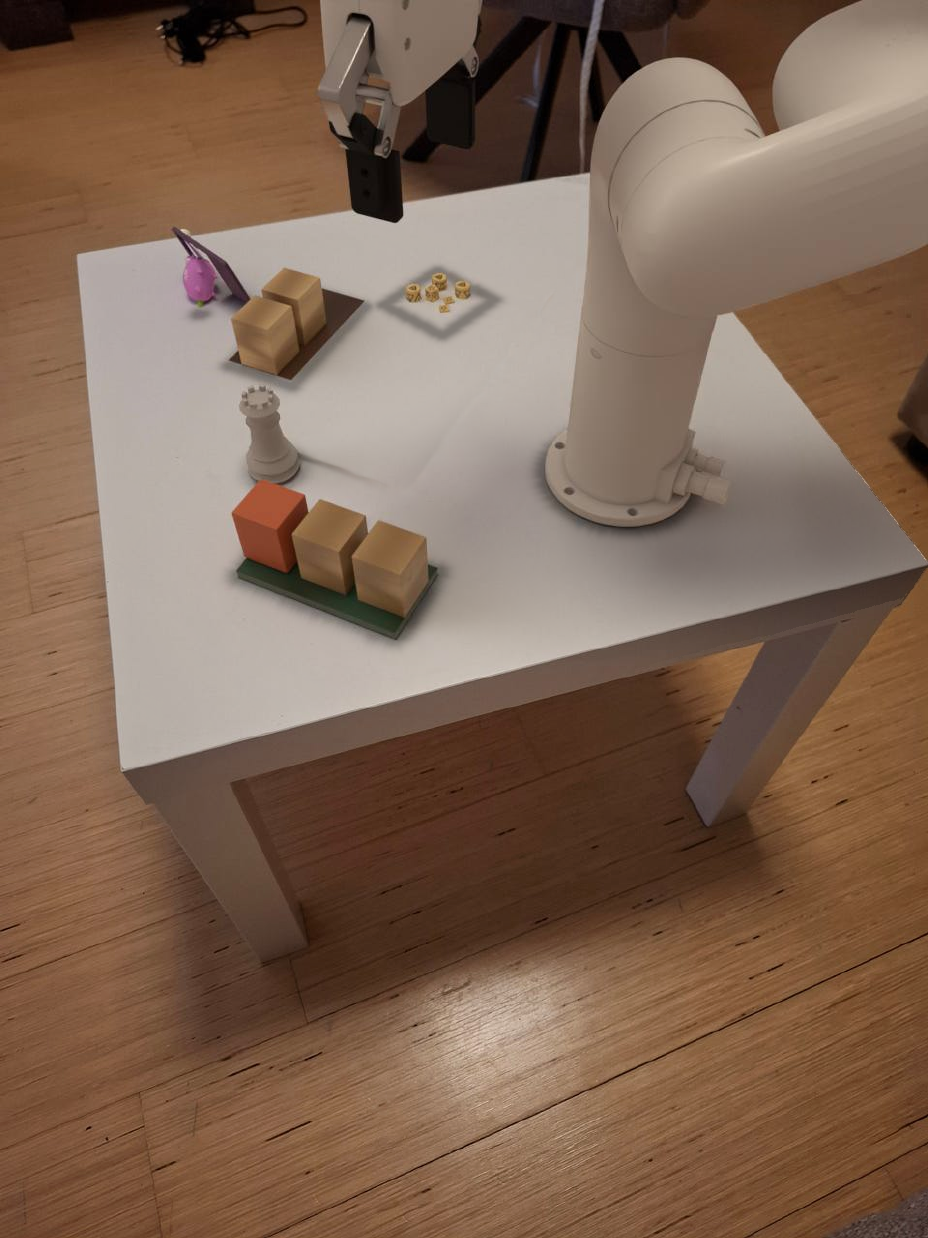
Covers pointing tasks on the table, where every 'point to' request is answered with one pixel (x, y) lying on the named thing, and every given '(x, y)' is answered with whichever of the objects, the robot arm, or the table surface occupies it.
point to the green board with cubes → (352, 569)
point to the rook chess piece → (267, 437)
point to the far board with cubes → (288, 323)
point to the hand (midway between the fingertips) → (416, 177)
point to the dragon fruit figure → (206, 271)
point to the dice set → (433, 291)
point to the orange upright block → (270, 524)
